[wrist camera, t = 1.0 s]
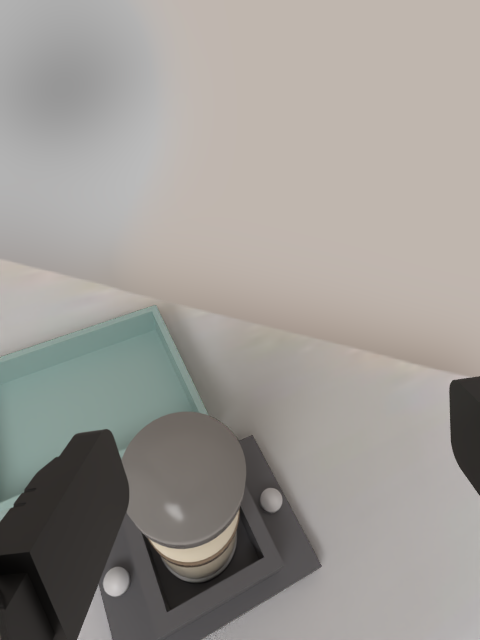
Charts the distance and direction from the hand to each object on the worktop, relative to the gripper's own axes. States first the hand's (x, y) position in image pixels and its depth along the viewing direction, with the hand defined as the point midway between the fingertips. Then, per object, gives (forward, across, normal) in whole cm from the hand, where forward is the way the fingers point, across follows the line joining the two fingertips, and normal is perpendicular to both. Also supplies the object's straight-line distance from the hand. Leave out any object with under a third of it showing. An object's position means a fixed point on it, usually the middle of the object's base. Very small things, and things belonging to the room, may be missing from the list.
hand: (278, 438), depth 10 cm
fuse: (+11, +6, +14) cm, 19 cm away
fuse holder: (+12, +7, +15) cm, 20 cm away
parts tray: (+18, +14, +8) cm, 25 cm away
